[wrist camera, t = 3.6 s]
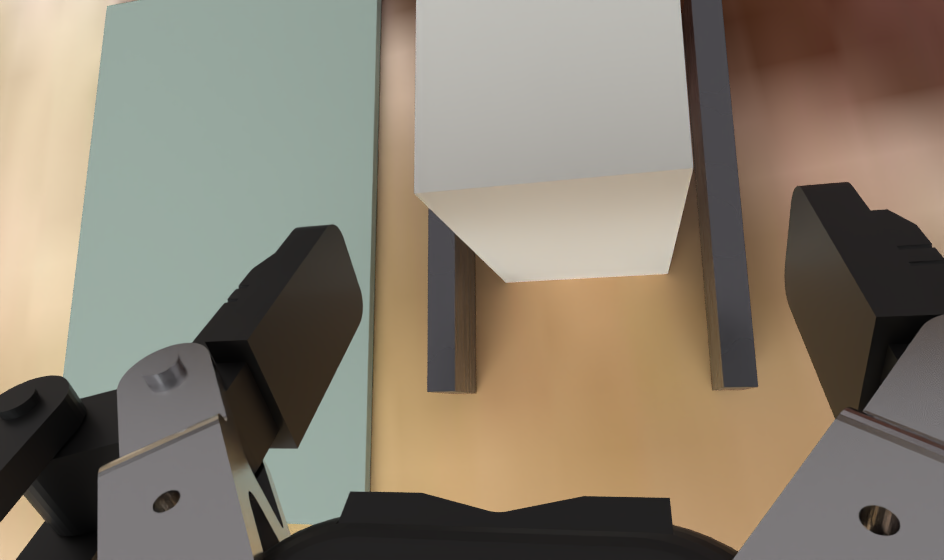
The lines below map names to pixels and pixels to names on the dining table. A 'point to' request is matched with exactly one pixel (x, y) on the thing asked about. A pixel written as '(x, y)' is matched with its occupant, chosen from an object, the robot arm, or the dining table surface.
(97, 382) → the mat
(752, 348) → the brackets
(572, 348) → the dining table surface
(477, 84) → the block
